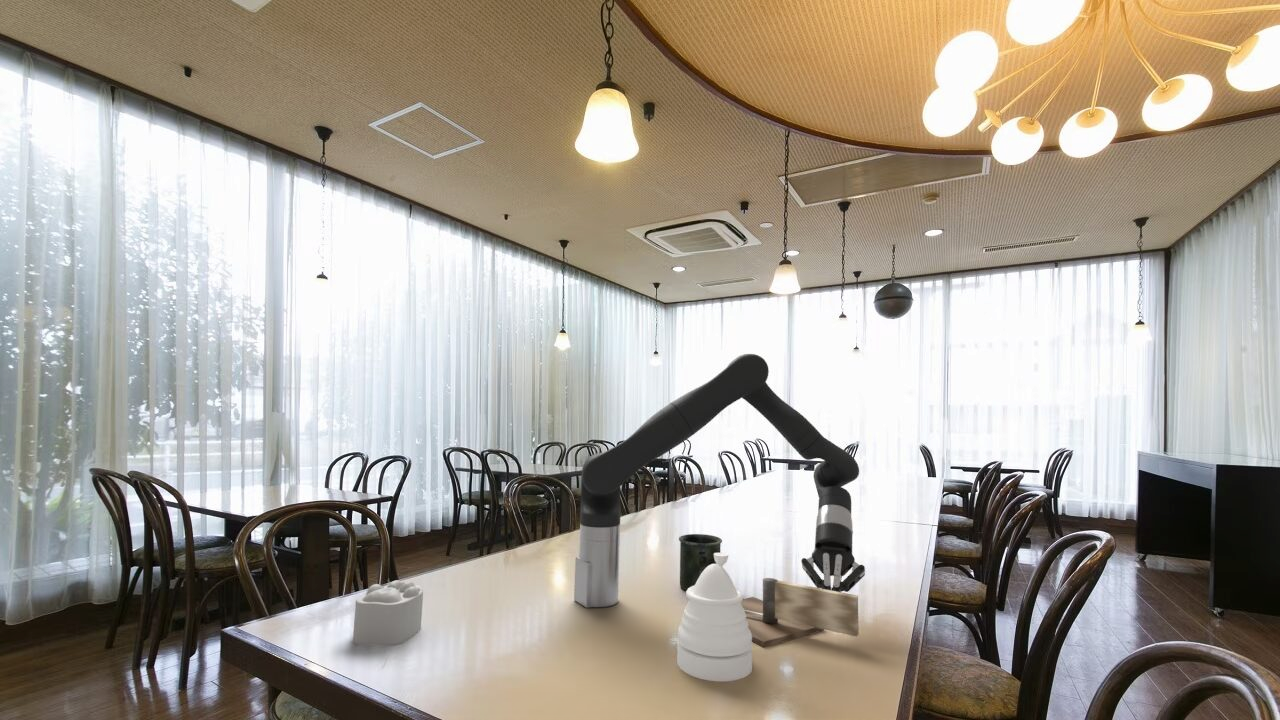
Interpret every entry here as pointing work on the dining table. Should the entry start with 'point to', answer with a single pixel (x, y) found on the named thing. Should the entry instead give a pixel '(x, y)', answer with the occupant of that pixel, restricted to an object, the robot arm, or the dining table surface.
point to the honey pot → (714, 628)
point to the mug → (696, 556)
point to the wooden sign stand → (772, 626)
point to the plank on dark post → (809, 606)
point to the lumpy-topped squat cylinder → (388, 614)
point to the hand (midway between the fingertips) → (831, 607)
